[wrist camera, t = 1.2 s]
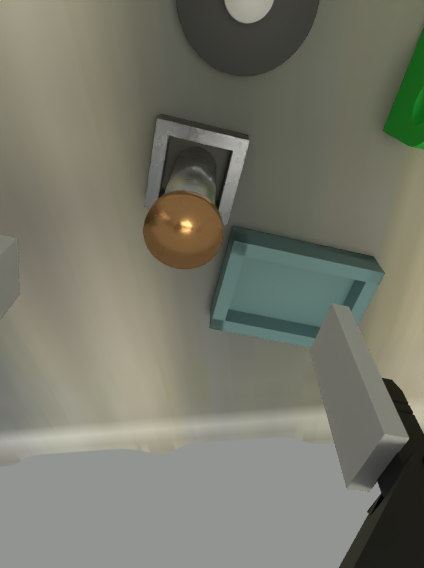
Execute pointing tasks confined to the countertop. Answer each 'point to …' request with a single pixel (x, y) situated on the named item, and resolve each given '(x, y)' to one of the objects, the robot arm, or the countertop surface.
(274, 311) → the tray
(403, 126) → the mechanical part
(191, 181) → the pin
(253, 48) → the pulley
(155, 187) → the grey metal square frame
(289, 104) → the countertop surface
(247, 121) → the countertop surface
